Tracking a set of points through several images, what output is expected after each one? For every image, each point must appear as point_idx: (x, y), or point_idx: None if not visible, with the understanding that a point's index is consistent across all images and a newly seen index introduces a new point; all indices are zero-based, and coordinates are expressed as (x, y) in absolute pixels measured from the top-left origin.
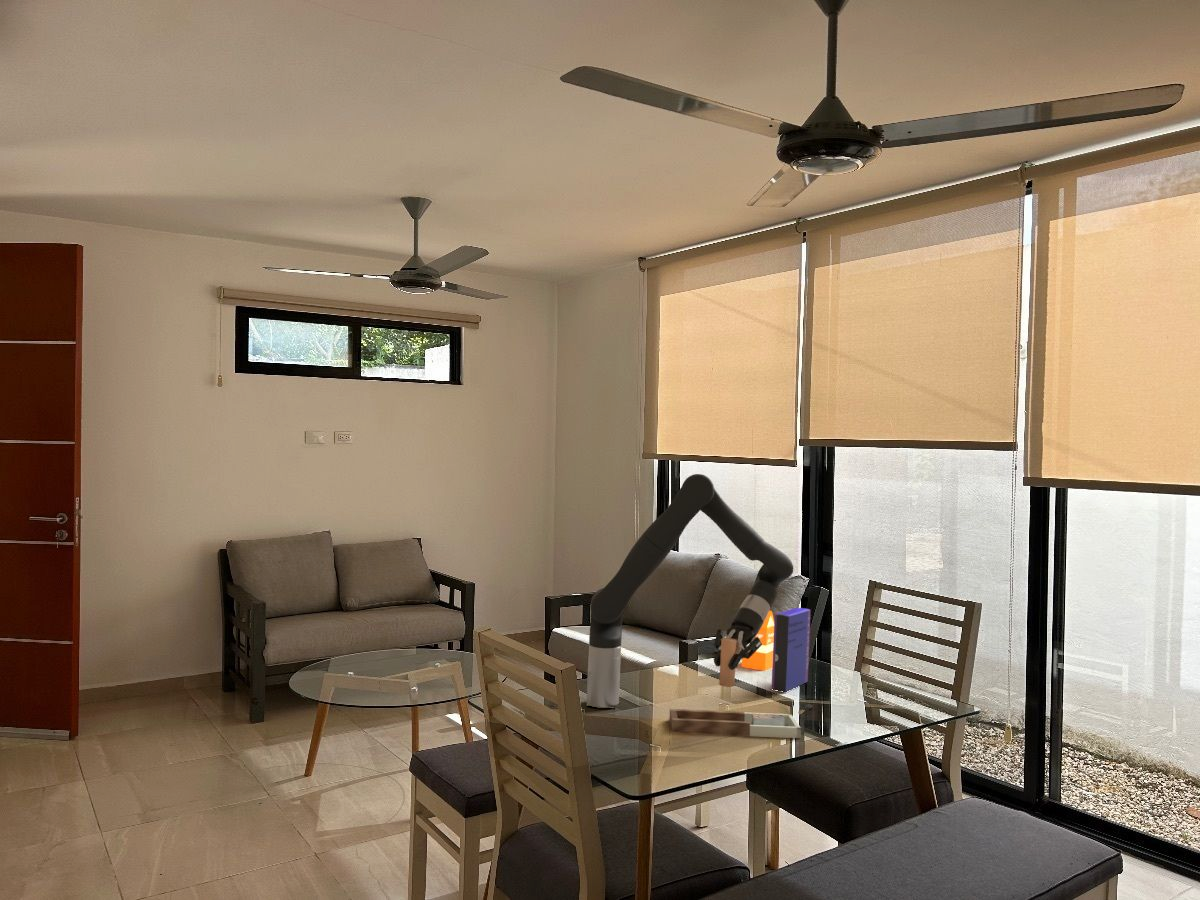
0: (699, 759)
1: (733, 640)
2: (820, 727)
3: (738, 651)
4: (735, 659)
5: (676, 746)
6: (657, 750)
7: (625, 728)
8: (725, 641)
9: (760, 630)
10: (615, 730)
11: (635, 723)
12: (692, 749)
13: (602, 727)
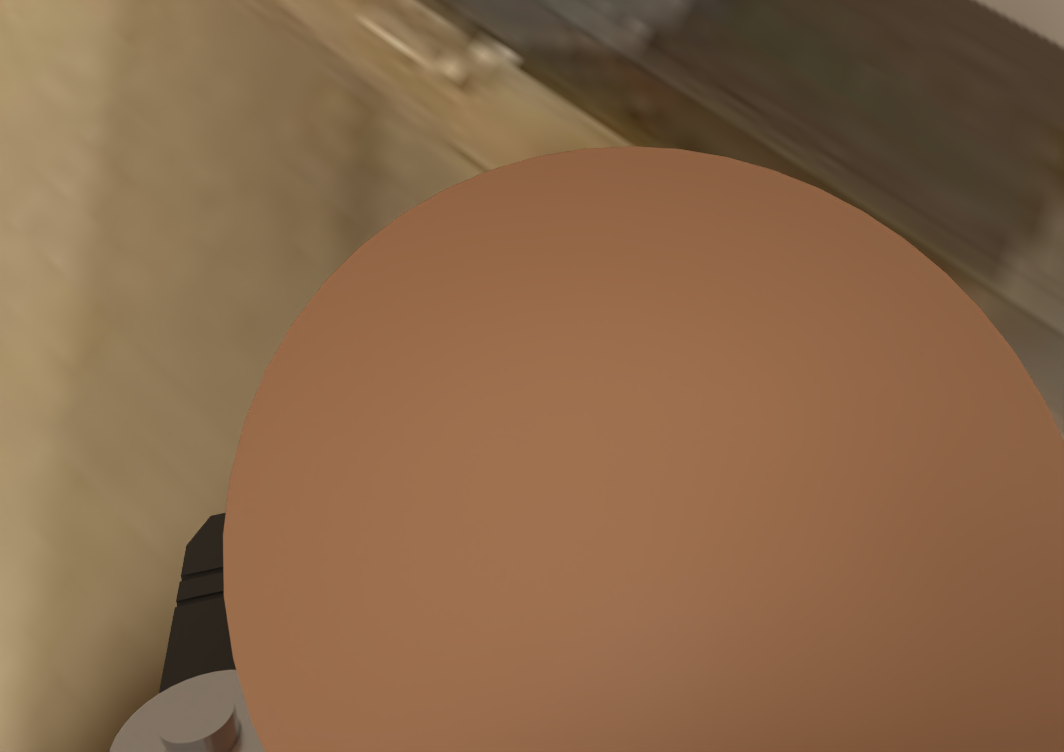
0: (100, 113)
1: (366, 579)
2: None
3: (171, 748)
4: (221, 614)
5: (385, 151)
6: (388, 17)
7: (846, 108)
8: (526, 191)
9: None
10: (830, 39)
11: (924, 221)
12: (277, 198)
13: (909, 13)
